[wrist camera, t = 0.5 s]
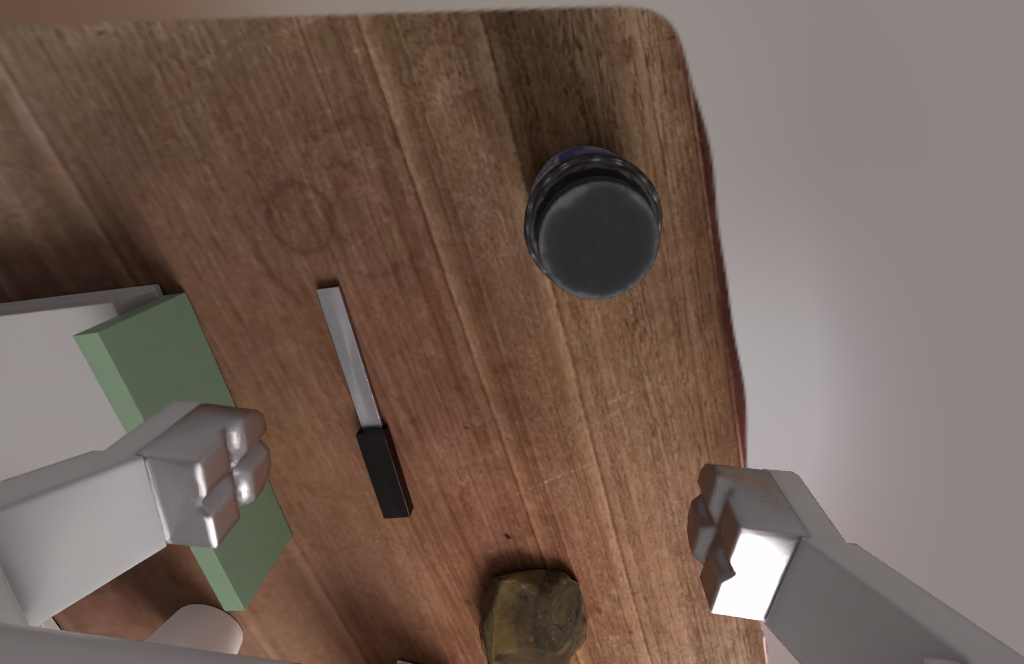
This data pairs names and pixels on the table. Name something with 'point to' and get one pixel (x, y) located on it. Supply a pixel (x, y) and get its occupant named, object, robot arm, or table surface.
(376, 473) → the table knife
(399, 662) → the small box
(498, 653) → the decorative stone
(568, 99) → the table surface
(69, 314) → the white rectangular block
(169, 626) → the cup
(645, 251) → the pill bottle
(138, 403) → the green board
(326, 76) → the table surface
